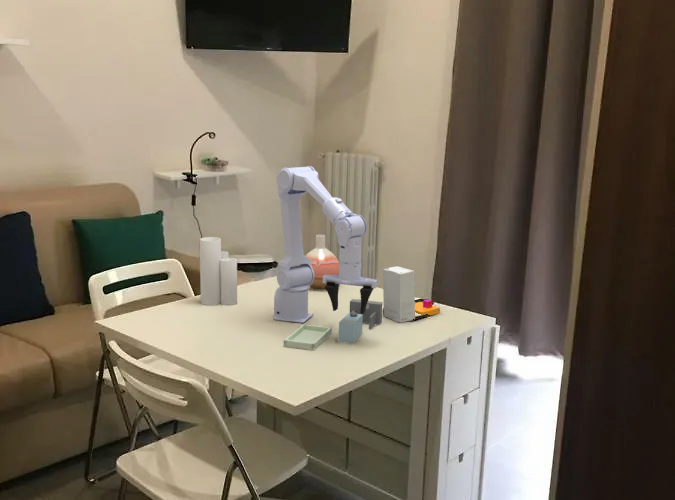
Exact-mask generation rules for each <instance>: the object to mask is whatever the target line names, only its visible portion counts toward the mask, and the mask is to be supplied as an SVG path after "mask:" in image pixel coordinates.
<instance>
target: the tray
mask: <svg viewBox="0 0 675 500" xmlns="http://www.w3.org/2000/svg"><path fill="white" fill-rule="evenodd" d="M332 331H333V328H332V327H329V326H322V325H313V324H305V323H302V324H301V325H300V326H299V327H298V328H297V329H295V330H294V331H293V332H292V333H290V334H289V335H288V336H287V337H285V339H283V347H285V348H292V349H293V348H294V349H299V350H300V349H301V350H309V351H315V350H316V349H317V348H319V346H320V345H321V344H322V343H324V342H325V340H326V339H328V338H329V337H330V336H331V335H332V334H333V332H332Z"/></svg>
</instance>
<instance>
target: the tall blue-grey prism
mask: <svg viewBox="0 0 675 500" xmlns="http://www.w3.org/2000/svg"><path fill="white" fill-rule="evenodd" d="M362 321H363V315H362V314H357V313H356V312H351V313H350V312H348V313H347V314H346V315H345V316H344V317H343V318H341V320H340V321H339V322H338V342H339V343H344V342H345V344H347V343H348V344H354V343H355V342H356V341H357V340H358V339H359V338H360V336H361V335H362V334H363V323H362Z"/></svg>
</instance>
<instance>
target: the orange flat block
mask: <svg viewBox="0 0 675 500" xmlns="http://www.w3.org/2000/svg"><path fill="white" fill-rule="evenodd" d="M415 312H416V313H418V314H421V315H424V314H428V315H430V316H429V317H431V316H435V315H438V314H441V307H440V306H436V305H433V300H432V299H431V300H430V299H427V298H426V299H424V300H422V301H418V302H415Z"/></svg>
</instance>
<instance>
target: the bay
mask: <svg viewBox="0 0 675 500" xmlns="http://www.w3.org/2000/svg"><path fill="white" fill-rule="evenodd" d="M360 309H361V299H355V298H352V299H351V300H350V301H349V313H351V312H356V313H357V314H361V312H360ZM362 315H363V321H362V324H368V330H372V329H373V328H374V327H375V326H376V325H382V324H381V323H382V322H383V301H374V300H368V302H367V305H366V310H365V313H364V314H362Z"/></svg>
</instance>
